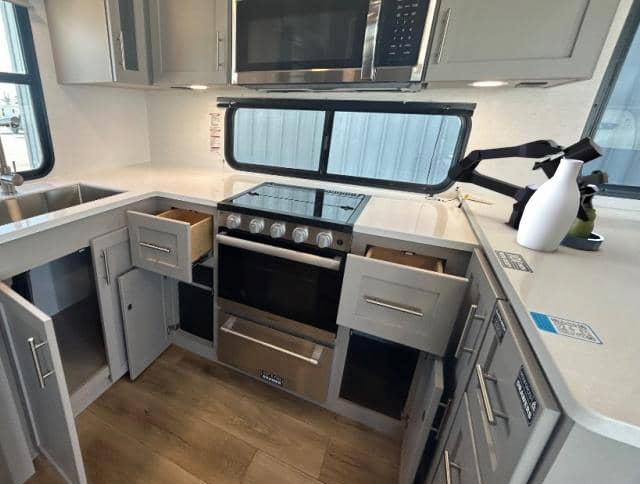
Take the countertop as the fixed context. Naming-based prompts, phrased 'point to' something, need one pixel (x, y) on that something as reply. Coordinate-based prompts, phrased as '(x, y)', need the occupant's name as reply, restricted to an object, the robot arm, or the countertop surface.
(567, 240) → the holder
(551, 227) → the bottle
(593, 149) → the robot arm
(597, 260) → the countertop surface
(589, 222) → the pear
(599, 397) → the countertop surface
